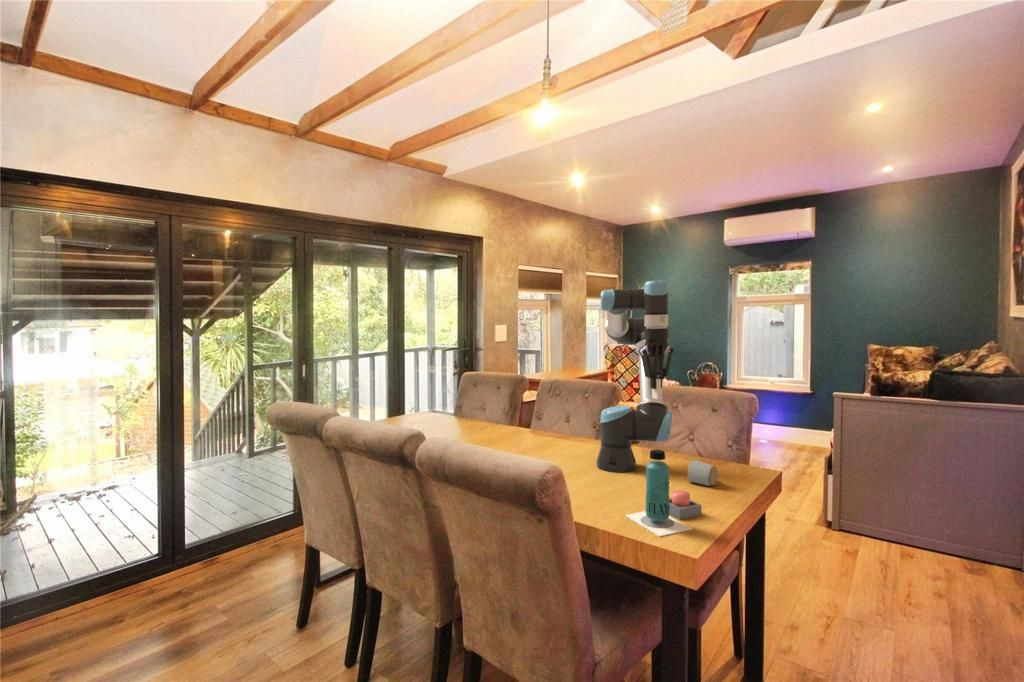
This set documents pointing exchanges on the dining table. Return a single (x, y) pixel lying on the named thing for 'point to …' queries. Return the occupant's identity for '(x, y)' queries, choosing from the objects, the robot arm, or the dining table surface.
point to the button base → (685, 510)
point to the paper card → (658, 524)
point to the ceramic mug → (702, 473)
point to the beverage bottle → (657, 487)
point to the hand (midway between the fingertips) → (656, 398)
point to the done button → (680, 498)
